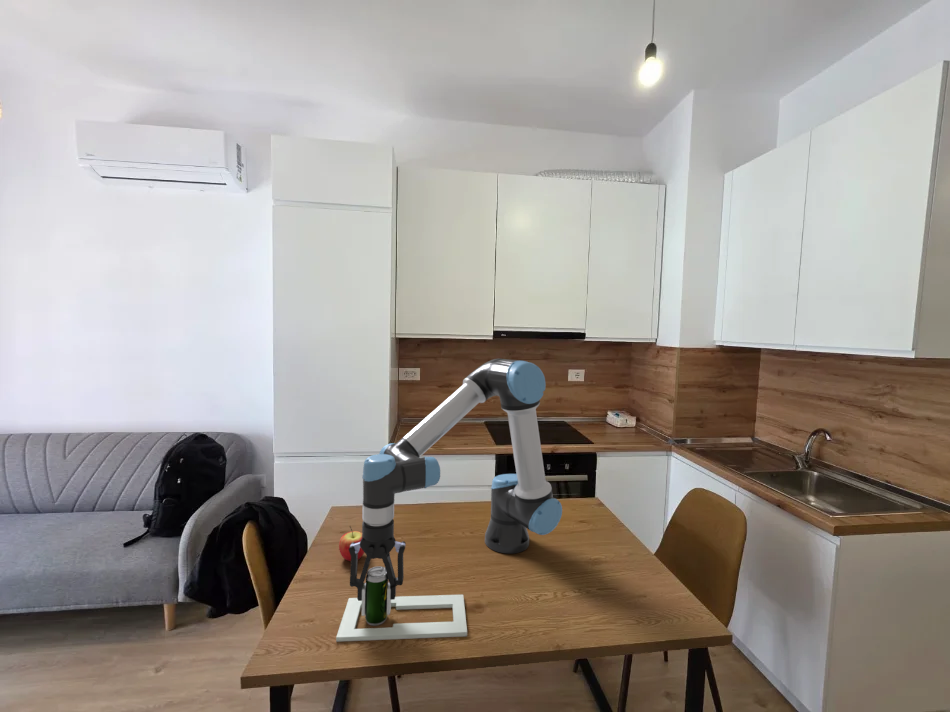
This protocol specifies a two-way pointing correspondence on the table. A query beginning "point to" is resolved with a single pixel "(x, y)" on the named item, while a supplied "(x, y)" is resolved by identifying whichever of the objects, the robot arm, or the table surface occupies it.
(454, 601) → the keyhole board
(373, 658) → the table surface
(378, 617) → the beer can
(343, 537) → the apple
